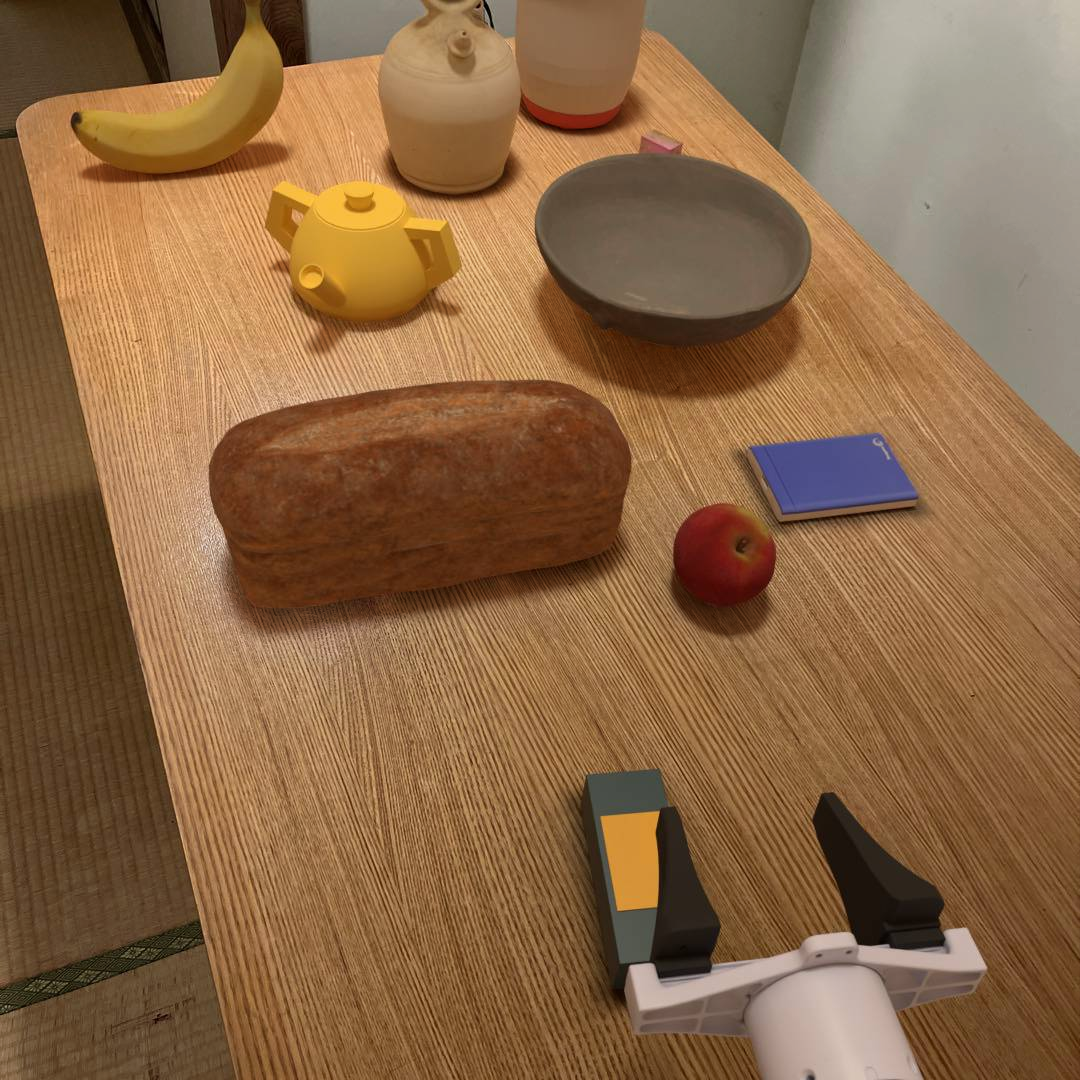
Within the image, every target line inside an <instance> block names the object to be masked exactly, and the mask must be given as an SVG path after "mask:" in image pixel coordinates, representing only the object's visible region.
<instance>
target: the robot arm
mask: <svg viewBox="0 0 1080 1080" xmlns="http://www.w3.org/2000/svg"><path fill="white" fill-rule="evenodd" d="M811 821H812V825H813V827H814V832H815V835H816V839H817V841H818V844H819V846H820V849H821V851H822V853H823V856H824V858H825V860H826V862H827V865H828V867H829V869H830V872H831V874H832V877H833V878H834V882H835V883H836V886H837V889H838V891H839V895H840V898H841V901H842V904H843V907H844V911H845V915H846V917H847V921H848V922H847V923H848V925H849V929H850V931H840V932H831V933H821V934H814V935H811V936H809V937H806V938H805V939H804V940H803V942H801V945H800V946H799V948H798V949H793V950H790V951H787V952H784V953H780V954H777V955H773V956H769V957H764V958H755V959H746V960H737V961H729V962H719V963H712V959H711V957H712V954H713V953H714V952H715V948H716V946H717V942H718V939H719V935H720V933H721V932H720V931H721V928H722V924H721V921H720V918H719V915H718V914H717V912H716V911H715V909H714V907H713V905H712V903H711V902H710V900H709V898H708V897H709V896H708V895H707V893H706V891H705V889H704V887H703V885H702V882H701V880H700V877H699V876H698V873H697V871H696V868H695V865H694V862H693V859H692V857H691V852H690V848H689V844H688V839H687V836H686V831H685V828H684V824H683V820H682V818H681V815H680V813H679V811H678V809H677V806H669V807H663V808H661V809H660V812H659V817H658V822H657V827H656V831H655V834H656V841H657V850H658V865H659V887H658V904H657V914H656V922H655V930H654V936H653V943H652V949H651V954H650V960H649V963H645V964H636V965H630V966H629V970H628V974H627V978H626V984H625V988H623V992H624V996H625V1001H626V1005H627V1009H628V1014H629V1019H630V1024H631V1027H632V1033H633V1035H634V1036H642V1035H653V1034H682V1035H683V1034H685V1035H701V1036H715V1037H730V1038H731V1037H732V1038H745V1039H749V1042H750V1045H751V1047H752V1050H753V1051H752V1052H753V1054H754V1057H755V1061H756V1063H757V1067H758V1071H759V1074H760V1077H761V1080H924V1078H923V1075H922V1072H921V1070H920V1068H919V1066H918V1063H917V1061H916V1059H915V1056H914V1054H913V1053H914V1052H913V1051H912V1048H911V1046H910V1044H909V1042H908V1038H907V1037H906V1034H905V1032H904V1030H903V1027H902V1025H901V1021H900V1020H899V1017H898V1015H897V1013H898V1012H901V1011H905V1010H908V1009H911V1008H915V1007H918V1006H922V1005H926V1004H928V1003H929V1004H930V1003H932V1002H933V1003H934V1002H937V1001H940V1000H941V1001H942V1000H945V999H949V998H954V997H960V996H966V995H973V994H974V993H975V991H976V989H977V988H978V986H979V984H980V982H981V981H982V979H983V978H984V976H985V975H986V973H987V971H988V966H987V965H986V962H985V960H984V958H983V957H982V954H981V952H980V950H979V949H978V946H977V945H976V943H975V940H974V939H973V936H972V934H971V933H970V931H969V928H968V927H965V926H964V927H957V928H956V927H955V928H948V929H945V930H944V931H943V930H942V928H941V926H942V922H941V921H940V916H941V915H942V913H943V910H944V908H945V905H946V904H945V900H944V898H943V896H942V894H941V893H940V892H939V889H938V888H937V886H936V885H934V884H932V883H930V882H929V881H927V880H925V879H924V878H922V877H921V876H919V875H917V874H916V873H914V872H913V871H912V870H910V869H909V868H907V867H906V866H905V865H904V864H902V863H901V862H900V861H898V860H897V859H896V858H895V857H894V856H893V855H892V854H890V853H889V852H888V850H887V851H886V849H884V848H883V847H882V846H881V845H880V844H879V842H878V841H876V839H874V837H872V836H871V834H870V833H869V832H868V831H867V830H866V829H865V828H864V827H863V826H862V825H861V823H860V822H859V821H858V820H857V818H856V817H855V816H854V814H852V813H851V812H850V810H849V809H848V808H847V806H846V805H845V804H844V802H843V801H842V800H841V798H839V795H837V794H836V793H835V792H834V791H830V792H821V793H820V797H819V799H818V802H817V805H816V808H815V810H814V813H813V816H812V818H811Z"/></svg>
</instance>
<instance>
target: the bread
mask: <svg viewBox="0 0 1080 1080" xmlns="http://www.w3.org/2000/svg"><path fill="white" fill-rule="evenodd" d="M632 462H633V461H632V452H631V449H630V445H629V441H628V440H627V438H626V436H625V434H624V432H623V431H622V428H621V427H620V426H619V424H618V422H617V420H616V418H615V416H614V415H613V413H612V411H611V410H610V409H609V408H608V407H607V406H606V405H605V404H604V403H603V402H602V401H601V400H600V399H599V398H597V397H595V396H593V395H592V394H590V393H588V392H586V391H584V390H582V389H581V388H579V387H576V386H574V385H573V384H571V383H565V382H559V381H557V380H556V381H555V380H550V379H506V380H505V379H503V380H502V379H500V380H498V379H497V380H496V379H495V380H493V379H492V380H491V379H490V380H488V379H487V380H486V379H485V380H457V381H456V380H455V381H444V382H443V381H442V382H433V383H432V382H431V383H424V384H416V385H409V386H403V387H396V388H386V389H385V388H384V389H378V390H377V389H376V390H370V391H365V392H360V393H359V392H358V393H355V394H349V395H344V396H343V395H342V396H337V397H329V398H324V399H319V400H313V401H308V402H304V403H299V404H294V405H290V406H284V407H281V408H278V409H275V410H271V411H269V412H265V413H261V414H258V415H255V416H253V417H250V418H248V419H245V420H241V421H240V422H238V423H237V424H235V425H233V426H232V427H230V428H229V429H227V431H226V432H225V434H224V435H223V437H222V438H221V439H220V441H219V442H218V443H217V445H216V446H215V448H214V449H213V452H212V455H211V458H210V460H209V463H208V487H209V488H208V489H209V490H208V491H209V497H210V501H211V505H212V508H213V512H214V515H215V517H216V518H217V521H218V523H219V524H220V526H221V528H222V531H223V534H224V538H225V541H226V544H227V548H228V551H229V554H230V557H231V560H232V564H233V567H234V570H235V574H236V577H237V580H238V583H239V587H240V589H241V592H242V594H243V596H244V597H245V598H246V599H247V600H248V601H249V602H250V603H251V604H252V605H253V606H254V607H261V608H270V609H300V608H301V609H302V608H308V607H317V606H324V605H329V604H333V603H338V602H345V601H350V600H356V599H362V598H369V597H370V598H371V597H376V596H381V595H382V596H383V595H389V594H390V595H391V594H396V593H397V594H398V593H405V592H415V591H416V592H417V591H418V592H419V591H426V590H433V589H441V588H447V587H451V586H452V587H453V586H455V585H459V584H464V583H468V582H471V581H476V580H480V579H485V578H490V577H496V576H500V575H501V576H502V575H506V574H512V573H517V572H523V571H530V570H531V571H532V570H538V569H545V568H552V567H560V566H563V565H568V564H572V563H575V562H578V561H582V560H586V559H589V558H592V557H595V556H598V555H601V554H602V553H604V552H605V551H608V550H609V549H610V548H612V546H613V543H614V541H615V539H616V536H617V534H618V530H619V527H620V525H621V521H622V518H623V517H622V516H623V510H624V501H625V497H626V494H627V491H628V486H629V484H630V483H629V482H630V477H631V472H632Z"/></svg>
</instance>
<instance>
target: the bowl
mask: <svg viewBox="0 0 1080 1080" xmlns="http://www.w3.org/2000/svg"><path fill="white" fill-rule="evenodd" d="M534 235H535V236H534V237H535V240H536V245H537V247H538V250H539V252H540V255H541V258H542V260H543V262H544V264H545V266H546V268H547V270H548V272H549V273H550V275H551V276H552V279H554V281H555V282H556V285H557V286H558V288H559V289H560V290H561V291H562V293H564V295H565V296H567V298H569V300H570V301H572V302H573V303H574V304H575V305H576V306H578V307H579V308H580V309H581V310H583V311H584V312H586V314H588V315H589V316H590V317H591V319H592V322H593V324H594V325H595V326H596V327H597V328H598V329H600V330H604V331H607V330H609V329H612V330H614V331H616V332H618V333H619V334H621V335H624V336H627V337H629V338H632V339H635V340H638V341H640V342H644V343H648V344H652V345H653V344H654V345H658V346H663V347H670V348H698V347H699V348H700V347H708V346H714V345H719V344H723V343H727V342H731V341H734V340H736V339H738V338H741V337H743V336H746V335H748V334H750V333H752V332H753V331H755V330H757V329H759V328H762V327H763V326H764V325H766V324H767V323H768V322H770V321H771V320H773V318H775V317H776V316H777V315H778V314H779V313H780V312H781V311H782V310H783V309H784V308H785V307H786V306H787V305H788V304H789V303H790V302H791V300H792V299H793V298H794V296H795V295H796V294H797V292H798V291H799V288H800V287H801V285H802V284H803V283H804V280H805V278H806V276H807V274H808V272H809V268H810V265H811V261H812V252H813V249H812V238H811V234H810V231H809V228H808V226H807V224H806V222H805V220H804V219H803V217H802V215H801V214H800V213H799V211H798V210H797V209H796V208H795V206H794V205H792V204H791V203H790V202H789V201H788V200H787V199H786V198H785V197H784V196H782V195H781V194H780V193H779V192H778V191H777V190H776V189H774V188H772V187H771V186H769V185H768V184H766V183H765V182H763V181H761V180H760V179H757V178H756V177H754V176H752V175H750V174H748V173H746V172H744V171H742V170H739V169H737V168H735V167H732V166H729V165H725V164H723V163H720V162H716V161H713V160H710V159H705V158H701V157H696V156H693V155H686V154H681V155H680V154H671V153H639V152H638V153H624V154H622V153H621V154H614V155H609V156H603V157H601V158H597V159H594V160H591V161H588V162H585V163H583V164H580V165H578V166H576V167H574V168H571V169H570V170H567V171H566V172H564V173H563V174H562V175H560V176H559V177H557V178H556V179H555V180H553V181H552V182H551V183H550V184H549V185H548V187H547V188H546V189H545V190H544V192H543V193H542V195H541V196H540V199H539V201H538V204H537V206H536V210H535V214H534Z"/></svg>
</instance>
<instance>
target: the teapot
mask: <svg viewBox="0 0 1080 1080" xmlns="http://www.w3.org/2000/svg"><path fill="white" fill-rule="evenodd" d="M293 210H294V211H296V212H298V213H300V214H301V215H303V217H302V219H301V221H300V222H299V224H298V223H297V222H296V221H295V220H294V219H293V218H292V217H293ZM264 229H265V230H266V231H267V232H268V233H269V234H270V235H271V237H272V238H274V239H275V241H276V242H277V243H278V244H279V245H280V246H281V247H282V248H283V249H284V250H285V252H287V254H288V255H289V262H288V263H289V265H288V266H289V267H288V269H289V278H290V281H291V285H292V286H293V288H294V290H295V291H296V293H297V294H298V295H299V296H300V297H301V298H302V299H303V301H305V302H306V303H307V304H309V305H310V306H311V307H313V308H314V309H316V310H317V311H319V312H320V313H322V314H323V315H326V316H328V317H329V318H332V319H336V320H339V321H344V322H347V323H356V324H372V323H374V324H375V323H381V322H385V321H390V320H393V319H396V318H398V317H401V316H403V315H404V314H405V315H406V313H408V312H410V311H411V310H412V309H414V308H415V307H416V306H417V305H418V304H419V303H420V302H422V301H423V300H424V299H425V298H426V297H427V296H428V294H429V293H430V292H431V291H432V290H433V289H435V288H436V287H438V286H440V285H442V284H444V283H445V282H447V281H449V280H451V279H452V278H455V276H456V275H457V273H458V272H459V271H460V270H461V269H462V267H463V264H462V260H461V257H460V254H459V251H458V248H457V245H456V242H455V237H454V235H453V232H452V229H451V226H450V222H449V220H445V219H443V220H442V219H433V218H432V219H431V218H421V217H419V216H418V215H417V214H416V212H415V210H413V208H412V207H411V205H410V204H409V203H408V202H407V200H405V198H404V197H402V195H401V194H399V193H398V192H397V191H395V190H394V189H392V188H390V187H388V186H385V185H383V184H379V183H375V182H369V181H364V180H353V181H349V182H344V183H339V184H336V185H333V186H331V187H329V188H327V189H325V190H324V191H322V192H321V193H320V194H319V195H316V194H314V193H311V192H310V191H308V190H306V189H303V188H301V187H299V186H297V185H294V184H292V183H290V182H288V181H286V180H282V181H281V182H280V183H279V184H277V185H276V186H275V187H274V188H273V189H272V192H271V196H270V201H269V205H268V210H267V214H266V219H265V223H264Z"/></svg>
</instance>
